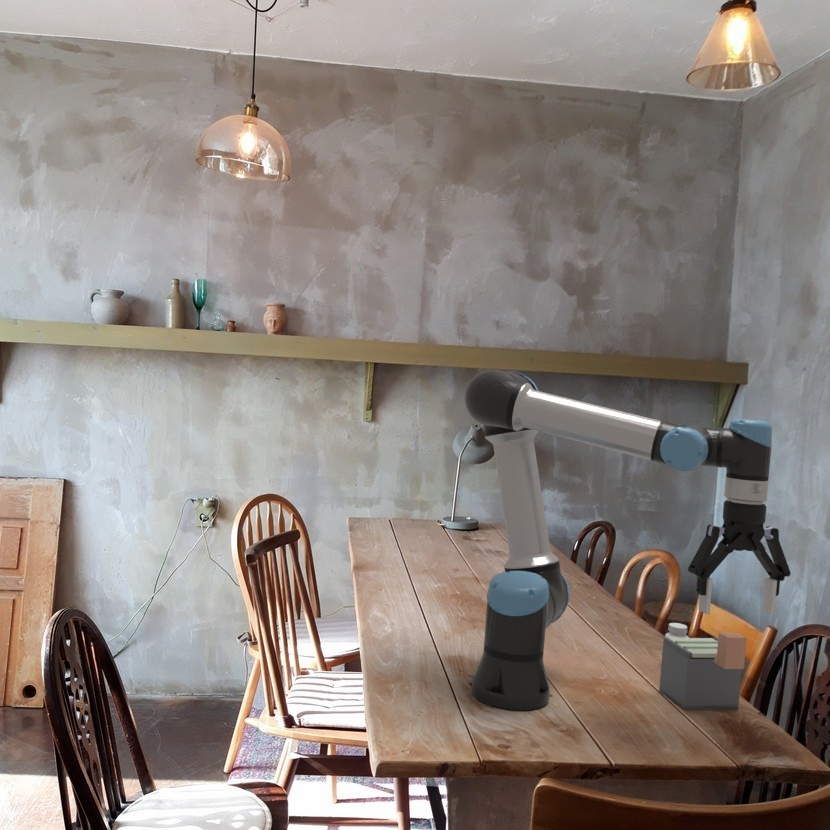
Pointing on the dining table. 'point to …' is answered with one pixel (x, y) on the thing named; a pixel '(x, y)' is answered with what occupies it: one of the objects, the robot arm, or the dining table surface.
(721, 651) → the green and tan block
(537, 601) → the robot arm
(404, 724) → the dining table surface
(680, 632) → the pill bottle
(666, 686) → the tub
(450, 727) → the dining table surface
